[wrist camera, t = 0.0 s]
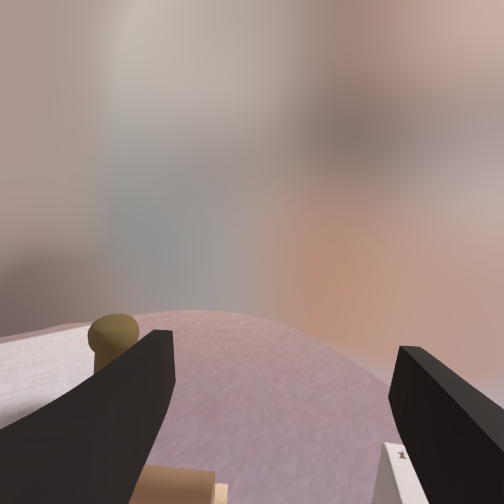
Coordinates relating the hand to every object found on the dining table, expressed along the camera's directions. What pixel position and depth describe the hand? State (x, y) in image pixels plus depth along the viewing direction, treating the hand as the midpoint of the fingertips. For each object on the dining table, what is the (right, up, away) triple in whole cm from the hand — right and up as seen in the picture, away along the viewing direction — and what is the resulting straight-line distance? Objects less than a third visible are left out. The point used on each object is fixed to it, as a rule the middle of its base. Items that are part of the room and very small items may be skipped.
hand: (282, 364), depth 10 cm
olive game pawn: (-16, -14, +28) cm, 35 cm away
